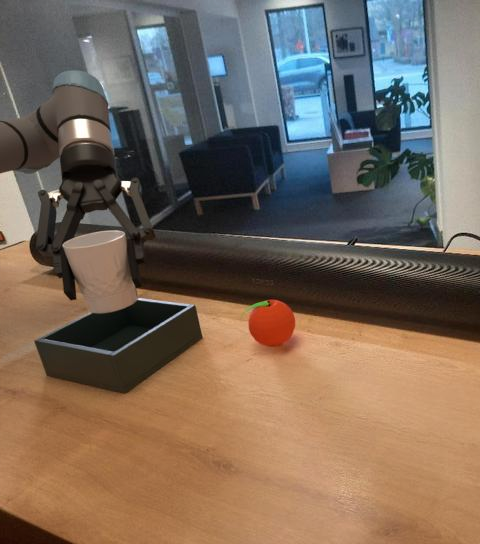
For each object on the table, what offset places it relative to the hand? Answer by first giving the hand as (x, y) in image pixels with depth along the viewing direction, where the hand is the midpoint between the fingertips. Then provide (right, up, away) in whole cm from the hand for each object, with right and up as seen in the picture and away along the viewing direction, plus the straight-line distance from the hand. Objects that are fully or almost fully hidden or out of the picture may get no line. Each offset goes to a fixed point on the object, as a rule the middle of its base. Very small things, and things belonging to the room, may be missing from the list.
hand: (104, 289), depth 68 cm
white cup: (-1, -2, +4) cm, 5 cm away
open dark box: (0, -10, +7) cm, 13 cm away
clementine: (+22, -9, +7) cm, 24 cm away
